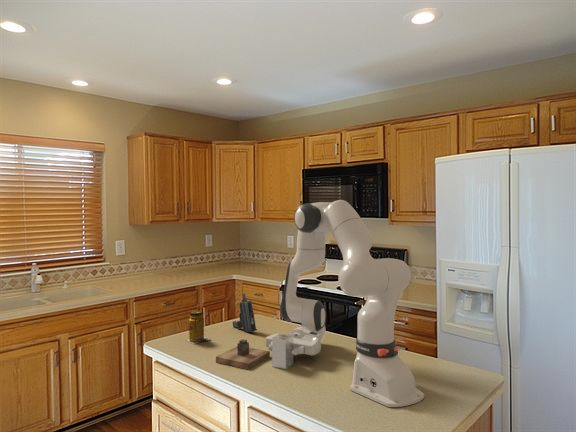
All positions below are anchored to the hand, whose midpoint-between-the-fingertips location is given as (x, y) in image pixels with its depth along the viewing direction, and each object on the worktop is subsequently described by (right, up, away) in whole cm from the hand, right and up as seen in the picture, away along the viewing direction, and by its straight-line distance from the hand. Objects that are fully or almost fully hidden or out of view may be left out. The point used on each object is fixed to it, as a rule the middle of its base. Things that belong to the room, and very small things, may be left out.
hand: (281, 350), depth 144 cm
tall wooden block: (0, -5, +1) cm, 6 cm away
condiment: (-35, -5, +29) cm, 46 cm away
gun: (-18, -5, +43) cm, 47 cm away
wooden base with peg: (-14, -5, +7) cm, 17 cm away
